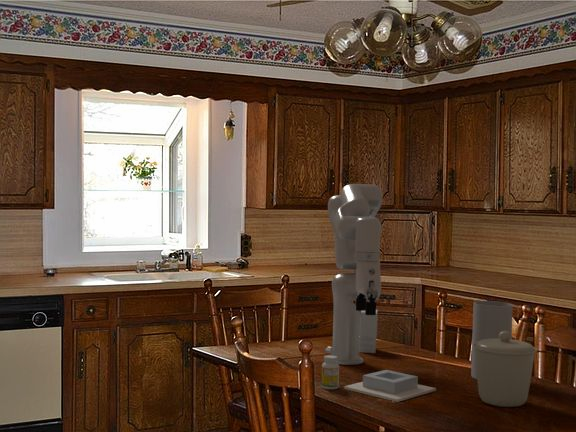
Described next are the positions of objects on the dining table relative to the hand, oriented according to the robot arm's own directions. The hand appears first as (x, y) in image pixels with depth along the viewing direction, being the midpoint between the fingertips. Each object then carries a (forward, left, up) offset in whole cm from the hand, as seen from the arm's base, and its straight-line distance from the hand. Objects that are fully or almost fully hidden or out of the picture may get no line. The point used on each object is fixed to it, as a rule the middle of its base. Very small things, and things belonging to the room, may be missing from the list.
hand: (365, 312), depth 245 cm
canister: (+38, +17, -23) cm, 48 cm away
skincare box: (-35, +47, -23) cm, 63 cm away
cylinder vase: (+20, +42, -23) cm, 52 cm away
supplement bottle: (-7, -8, -23) cm, 26 cm away
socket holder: (+7, +4, -23) cm, 25 cm away
